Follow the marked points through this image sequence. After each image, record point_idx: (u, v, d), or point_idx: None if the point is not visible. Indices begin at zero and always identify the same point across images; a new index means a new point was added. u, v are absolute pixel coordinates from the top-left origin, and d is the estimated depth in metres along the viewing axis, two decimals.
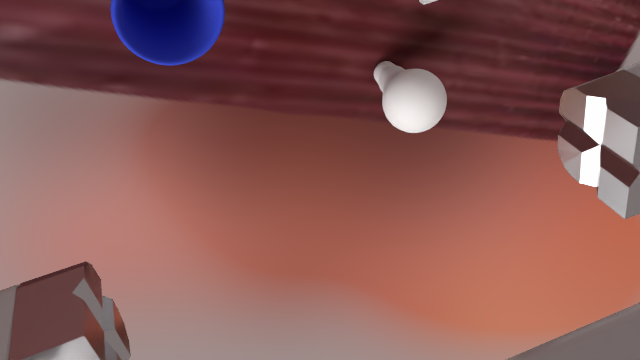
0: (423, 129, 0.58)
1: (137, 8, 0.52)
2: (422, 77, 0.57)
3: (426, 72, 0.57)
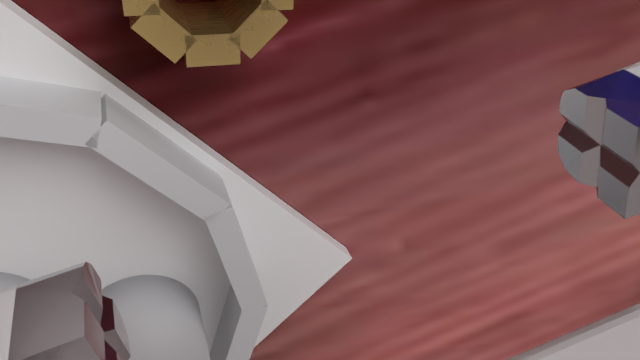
0: None
1: None
2: None
3: None
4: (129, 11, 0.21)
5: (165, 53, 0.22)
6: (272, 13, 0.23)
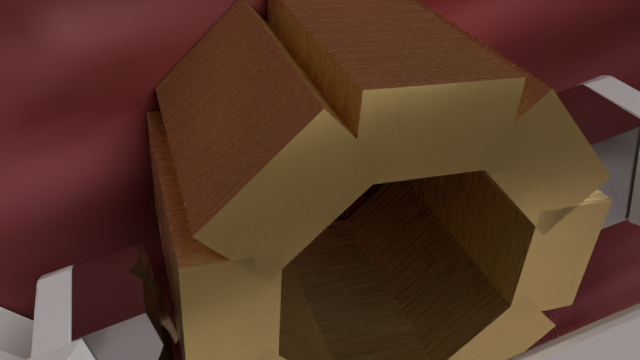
0: None
1: None
2: None
3: None
4: None
5: None
6: (528, 319, 0.10)
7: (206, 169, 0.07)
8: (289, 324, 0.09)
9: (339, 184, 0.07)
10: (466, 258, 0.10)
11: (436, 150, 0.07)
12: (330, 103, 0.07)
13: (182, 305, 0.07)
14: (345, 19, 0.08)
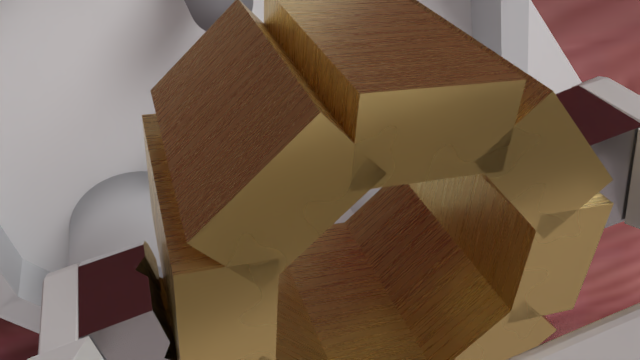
0: None
1: None
2: None
3: None
4: None
5: None
6: (528, 323, 0.09)
7: (201, 174, 0.07)
8: (286, 329, 0.09)
9: (337, 189, 0.07)
10: (465, 261, 0.10)
11: (435, 154, 0.07)
12: (327, 106, 0.07)
13: (177, 312, 0.07)
14: (342, 20, 0.08)
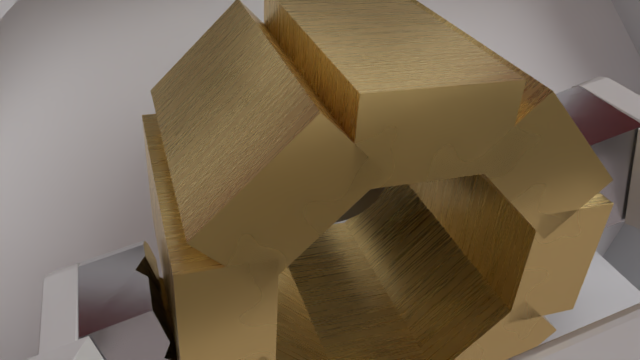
0: None
1: None
2: None
3: None
4: None
5: None
6: (528, 323, 0.09)
7: (201, 174, 0.07)
8: (287, 329, 0.09)
9: (337, 189, 0.07)
10: (466, 261, 0.10)
11: (435, 154, 0.07)
12: (327, 106, 0.07)
13: (177, 312, 0.07)
14: (342, 21, 0.08)
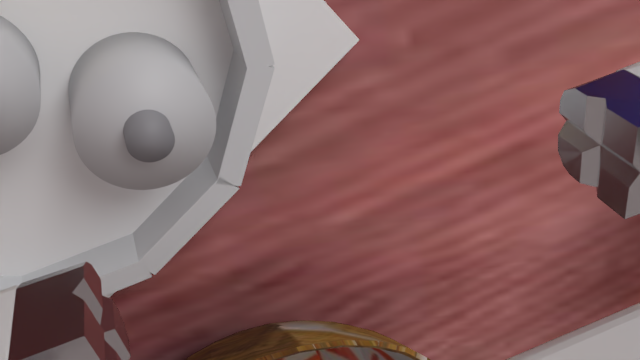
0: None
1: None
2: None
3: None
4: None
5: None
6: None
7: None
8: None
9: None
10: None
11: None
12: None
13: None
14: None
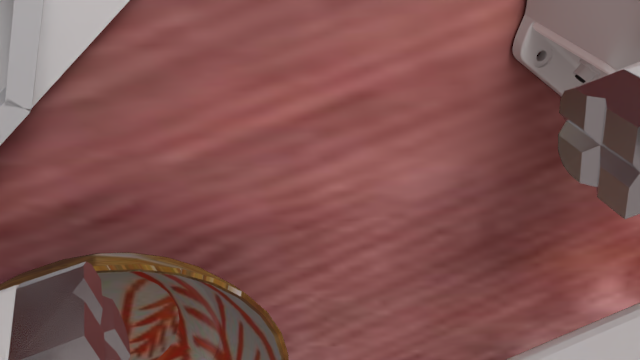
0: None
1: None
2: None
3: None
4: None
5: None
6: None
7: None
8: None
9: None
10: None
11: None
12: None
13: None
14: None
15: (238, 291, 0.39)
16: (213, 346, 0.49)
